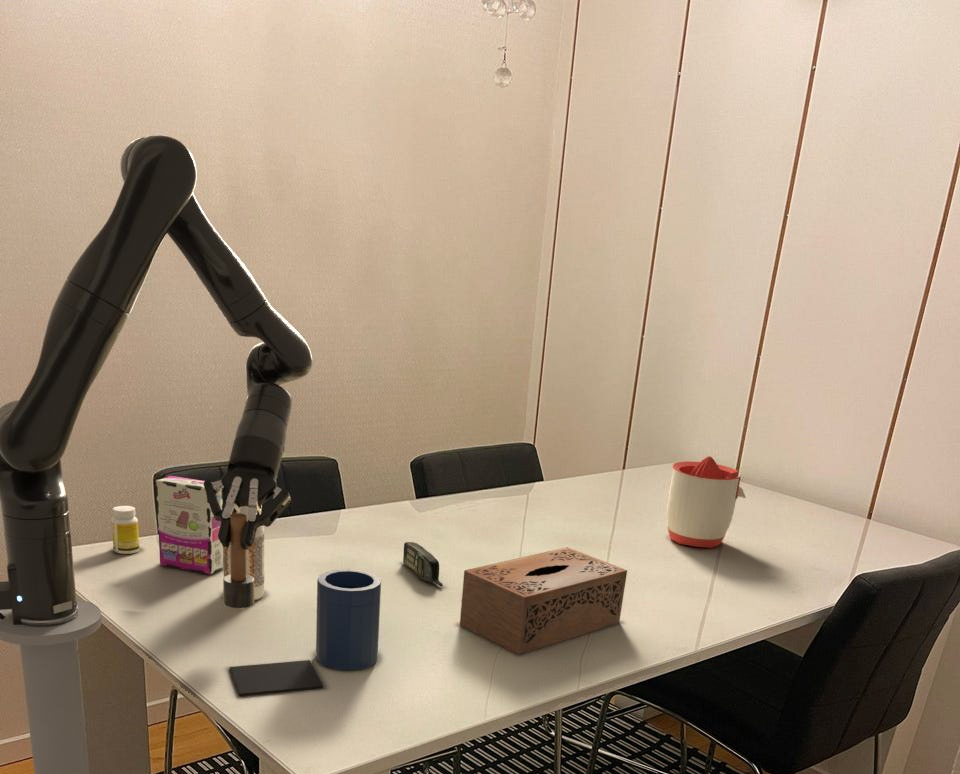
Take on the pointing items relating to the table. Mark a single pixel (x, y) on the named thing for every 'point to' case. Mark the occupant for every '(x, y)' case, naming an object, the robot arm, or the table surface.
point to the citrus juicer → (701, 502)
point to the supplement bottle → (125, 530)
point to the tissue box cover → (541, 598)
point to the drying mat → (275, 678)
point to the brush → (238, 568)
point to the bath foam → (250, 559)
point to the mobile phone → (421, 562)
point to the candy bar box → (187, 526)
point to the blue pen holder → (347, 619)
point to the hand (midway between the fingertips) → (234, 545)
